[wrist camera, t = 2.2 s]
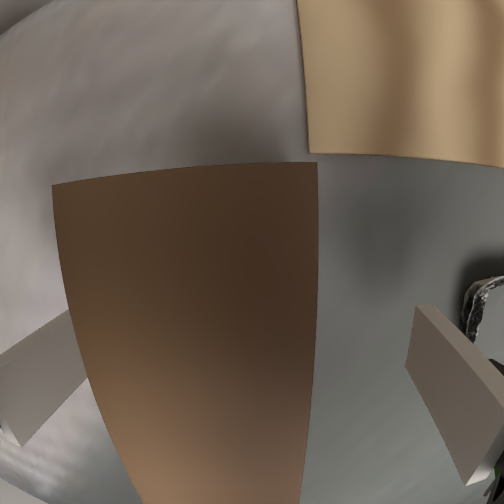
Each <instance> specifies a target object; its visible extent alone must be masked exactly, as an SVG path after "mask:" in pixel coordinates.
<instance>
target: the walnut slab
mask: <svg viewBox="0 0 504 504" xmlns="http://www.w3.org/2000/svg"><path fill="white" fill-rule="evenodd" d="M52 195H53V208H54V219H55V229H56V237H57V245H58V252H59V259H60V265H61V271H62V277H63V282H64V288H65V293H66V298H67V302H68V307H69V311H70V316H71V320H72V324H73V328H74V332H75V336H76V339H77V343H78V347H79V350H80V354H81V357H82V360H83V364H84V367H85V370H86V373H87V376H88V379H89V382H90V385H91V388H92V391H93V394H94V397H95V399H96V402H97V405H98V407H99V410H100V413H101V415H102V418H103V420H104V423H105V425H106V428H107V430H108V432H109V435H110V437H111V439H112V442H113V444H114V446H115V448H116V450H117V453H118V455H119V457H120V459H121V461H122V463H123V465H124V467H125V469H126V471H127V473H128V475H129V477H130V479H131V481H132V483H133V485H134V487H135V488H136V490H137V492H138V494H139V496H140V498H141V499H142V501H143V503H144V504H299V500H300V494H301V487H302V479H303V472H304V464H305V456H306V448H307V439H308V429H309V419H310V409H311V398H312V385H313V372H314V357H315V340H316V319H317V292H318V172H317V162H279V163H249V164H229V165H213V166H199V167H186V168H175V169H165V170H155V171H146V172H137V173H129V174H121V175H113V176H106V177H99V178H93V179H86V180H80V181H74V182H68V183H62V184H57V185H52Z"/></svg>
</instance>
